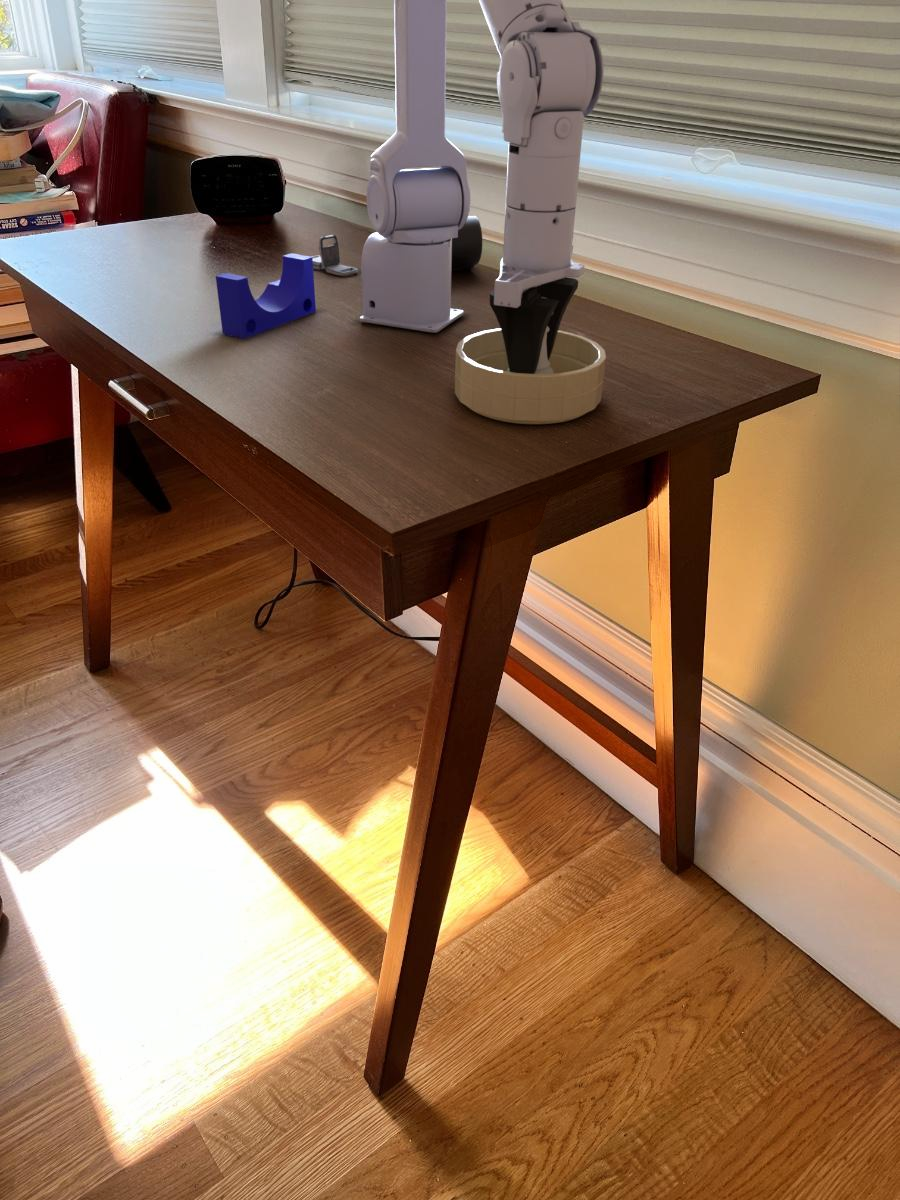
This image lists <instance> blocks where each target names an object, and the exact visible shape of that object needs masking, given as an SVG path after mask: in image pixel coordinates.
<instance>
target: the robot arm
mask: <svg viewBox="0 0 900 1200" xmlns="http://www.w3.org/2000/svg"><path fill="white" fill-rule="evenodd" d="M478 2H479V4H480V7H481V9H482V13H483V15H484V18H485V21H486V23H487V26H488V28H489V31H490V34H491V36H492V39H493V41H494V45H495V46H496V50H497V53H498V55H499V57H500V62H499V67H498V71H497V72H496V88H497V96H498V101H499V105H500V109H501V115H502V116H501V117H502V125H501V132H502V134H503V136H502V137H503V141H504V142H507V143H508V145H507V146H508V147H507V164H506V165H507V167H506V168H507V169H506V187H505V189H506V190H505V205H504V206H505V208H504V226H503V227H504V228H503V248H502V249H503V251H502V258H501V259H500V263H499V276H498V278H496V279H495V280H494V288H493V289H494V290H492V291H491V292H490V293H489V298H488V299H489V306H490V308H491V310H492V312H493V313H494V315H495V317H496V320H497V323H498V325H499V327H500V328H501V331H502V334H503V339H504V344H505V349H506V355H507V360H508V366H509V370H510V372H513V373H524V374H535V372H536V369H537V366H538V362H539V357H540V352H541V347H542V342H543V338H544V334H545V331H546V328H547V326H548V327H549V331H548V332H547V339H546V345H547V358H548V361H549V358H550V356H551V353H552V350H553V346H554V343H555V339H556V336H557V332H558V330H559V328H560V325H561V323H562V321H563V317H564V314H565V312H566V309H567V307H568V305H569V303H570V302H571V300H572V298H573V296H574V294H575V293H576V292H577V290H578V287H579V280H578V279H577V278H579V277H581V276H582V275H583V274H584V273H585V264H582V263H576V262H574V261H573V254H574V253H573V252H574V245H573V244H574V243H573V242H574V232H575V219H576V209H577V207H576V206H577V199H578V188H579V187H578V186H579V177H580V165H581V152H582V142H583V130H584V121H585V120H584V119H585V117H587V116H588V115H590V114H591V113H592V112H593V111H594V109H595V107H596V106H597V104H598V102H599V99H600V96H601V93H602V88H603V83H604V71H605V70H604V68H605V67H604V59H603V52H602V49H601V46H600V42H599V38H598V36H597V35H596V33H595V32H594V31H592V30H590V29H589V28H588V29H586V28H583V27H581V24H580V22H579V21H572V20H571V19H570V17H569V15H568V12H567V10H566V7H565V5H564V3H563V0H478ZM393 12H394V13H393V15H394V17H393V18H394V19H393V21H394V22H393V23H394V72H395V73H394V74H395V75H394V77H395V78H394V83H395V85H394V86H395V132H394V133H393V134H392V135H391V137H389V138H388V139H387V140H386V141H385V142H384V143H383V144H382V145H381V146H379V147H378V148H377V149H376V150H375V151H374V152H373V153H372V154H371V155H370V161H369V172H368V173H369V174H368V182H367V186H366V195H365V196H366V197H365V198H366V209H367V216H368V218H369V222H370V224H371V226H372V228H373V230H375V231H376V232H373V233H371V234H370V235H368V237H367V239H366V240H365V241H364V244H363V248H362V251H361V252H362V253H361V261H360V267H361V268H360V269H361V270H360V271H361V299H362V315H361V316H360V317H359V321H360V322H362V323H369V324H374V325H381V326H386V327H393V328H398V329H399V328H401V329H406V330H412V331H419V332H425V333H435V334H436V333H438V332H440V331H442V330H443V329H445V328H446V327H447V326H449V325H450V324H452V323H453V322H455V321H456V320H458V319H459V318H461V317H462V316H463V315H464V313H465V311H464V310H463V309H458V308H451V306H452V270H451V261H452V238H457V237H458V230H459V229H461V228H462V227H463V226H464V224H465V222H466V220H467V218H468V216H470V211H471V190H470V185H469V182H468V173H467V158H466V156H465V155H464V153H463V152H462V151H461V150H460V149H459V148H458V147H457V146H455V144H453V143H452V142H451V141H450V140H449V139H448V138H447V137H446V85H447V84H446V83H447V81H446V79H447V78H446V76H447V75H446V74H447V73H446V71H447V70H446V69H447V0H393ZM437 167H438V168H437ZM414 168H415V169H414ZM416 168H417V169H416ZM541 297H545V298H541ZM546 298H547V299H546ZM553 312H554V313H553ZM552 313H553V314H552Z"/></svg>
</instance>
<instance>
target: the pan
mask: <svg viewBox="0 0 900 1200" xmlns="http://www.w3.org/2000/svg"><path fill="white" fill-rule="evenodd" d="M454 361H455V363H454V365H455V366H454V395H455V396H456V398H457V399H458V401H459V403H461V404H463V405H464V406H465V407H467V408H468V409H470V410H471V411H473V412H474V413H476V414H479V415H481V416H483V417H485V418H489V419H492V420H495V421H500V422H506V423H512V424H521V425H548V424H549V425H550V424H557V423H565V422H569V421H572V420H575V419H578V418H580V417H583V416H584V415H586V414H587V413H590V412H592V411H593V410H595V409H596V408H597V407H598V405H599V404H600V403H601V401H602V398H603V397H602V396H603V387H604V378H605V370H606V361H607V355H606V350H605V349H604V348H603V347H602V346H601V345H600V344H599V343H598V342H596V341H594V340H592V339H589V338H587V337H586V336H583V335H581V334H580V335H579V334H576V333H572V332H569V331H565V330H559V329H558V332H557V336H556V339H555V343H554V346H553V350H552V353H551V356H550V358H549V362H550V367H551V368H552V369H553V373H554V374H524V373H513V372H507V370H508V368H509V366H508V360H507V355H506V349H505V344H504V339H503V334H502V331H501V328H499V327H498V328H494V329H487V330H482V331H479V332H476V333H473V334H469V335H467V336H465V337H464V338H462V339H461V340H460V341H459V342H457V344H456V347H455V360H454Z"/></svg>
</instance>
